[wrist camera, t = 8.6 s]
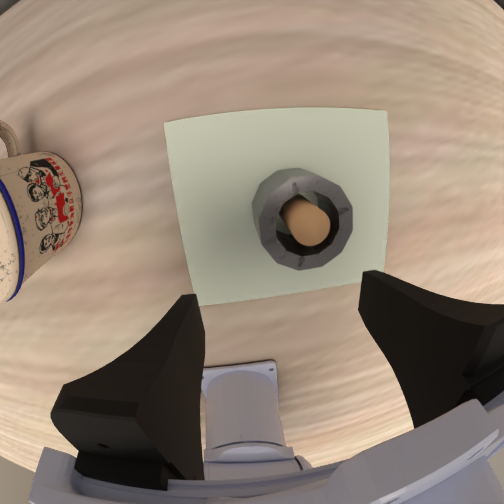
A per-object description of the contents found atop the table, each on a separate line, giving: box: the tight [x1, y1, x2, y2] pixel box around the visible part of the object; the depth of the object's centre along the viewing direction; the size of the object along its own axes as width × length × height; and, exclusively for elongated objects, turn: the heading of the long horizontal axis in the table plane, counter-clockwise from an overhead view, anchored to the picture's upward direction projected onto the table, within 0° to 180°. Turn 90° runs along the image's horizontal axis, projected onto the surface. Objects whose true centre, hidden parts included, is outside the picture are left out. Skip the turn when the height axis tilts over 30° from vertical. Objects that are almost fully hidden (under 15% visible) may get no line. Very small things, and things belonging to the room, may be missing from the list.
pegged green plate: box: [164, 108, 390, 306], centre depth 17 cm, size 14×16×6 cm
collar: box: [252, 168, 353, 271], centre depth 17 cm, size 6×6×4 cm
